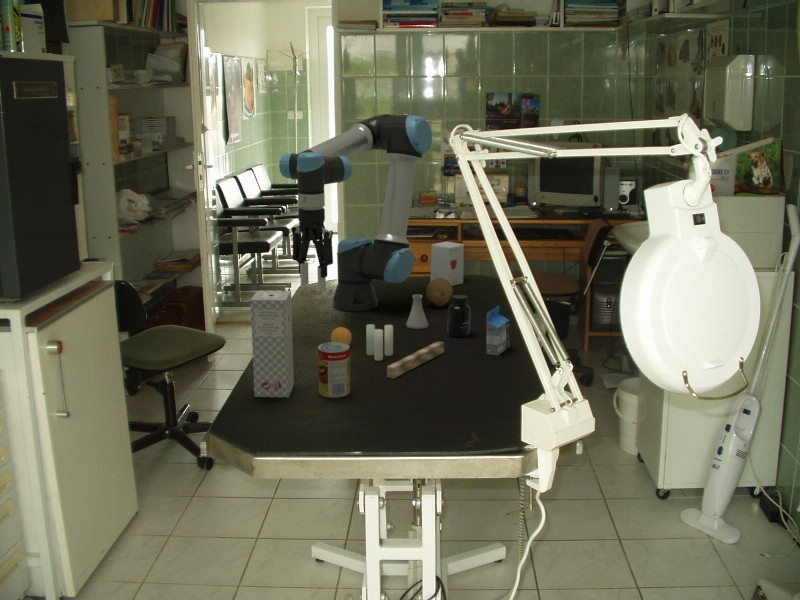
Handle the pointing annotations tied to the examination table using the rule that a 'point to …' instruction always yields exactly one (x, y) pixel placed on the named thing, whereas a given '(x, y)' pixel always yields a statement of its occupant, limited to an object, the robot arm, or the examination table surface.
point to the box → (272, 343)
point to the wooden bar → (415, 359)
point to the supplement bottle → (459, 317)
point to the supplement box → (447, 262)
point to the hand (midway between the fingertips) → (313, 286)
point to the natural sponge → (439, 291)
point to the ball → (341, 335)
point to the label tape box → (497, 333)
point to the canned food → (334, 369)
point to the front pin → (370, 339)
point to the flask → (417, 314)
